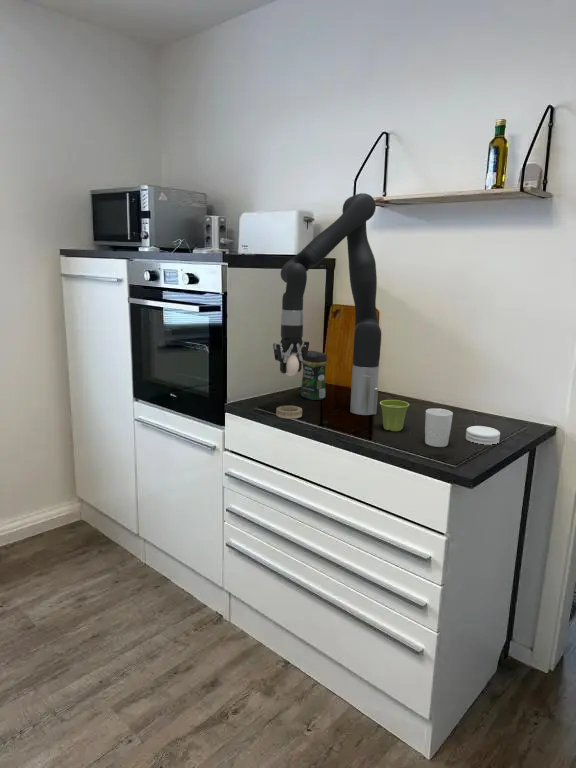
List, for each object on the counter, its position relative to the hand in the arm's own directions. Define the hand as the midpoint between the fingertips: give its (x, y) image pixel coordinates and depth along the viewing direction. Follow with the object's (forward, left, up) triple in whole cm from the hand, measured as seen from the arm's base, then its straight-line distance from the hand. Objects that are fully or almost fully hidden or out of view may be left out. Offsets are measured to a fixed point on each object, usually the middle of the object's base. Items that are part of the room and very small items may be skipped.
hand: (290, 372), depth 194 cm
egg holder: (0, 0, -15) cm, 15 cm away
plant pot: (-35, +10, -16) cm, 40 cm away
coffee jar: (-7, -27, -16) cm, 32 cm away
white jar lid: (-62, +17, -16) cm, 66 cm away
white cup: (-47, +23, -16) cm, 55 cm away
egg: (0, 0, -2) cm, 2 cm away
